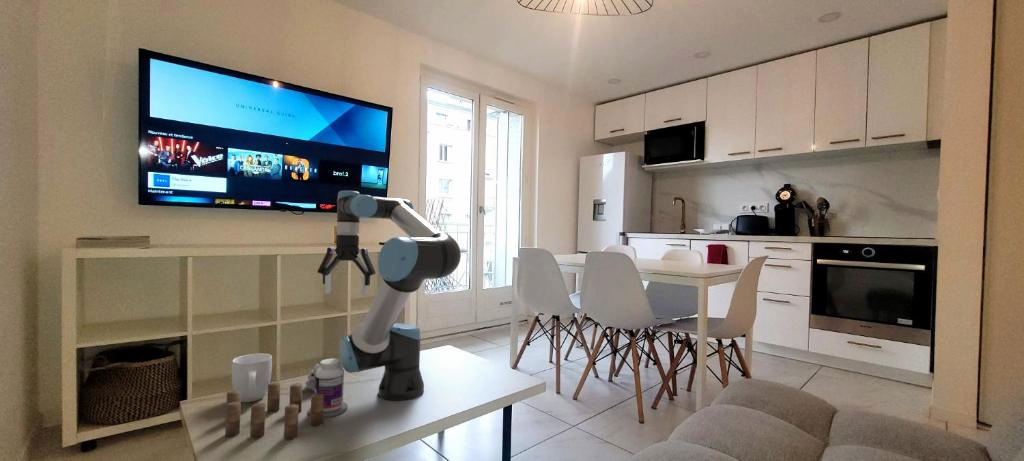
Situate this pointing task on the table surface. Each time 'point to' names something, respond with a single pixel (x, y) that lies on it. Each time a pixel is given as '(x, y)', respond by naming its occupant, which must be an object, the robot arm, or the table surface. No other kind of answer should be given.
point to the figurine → (312, 377)
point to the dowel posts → (272, 406)
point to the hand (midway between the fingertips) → (345, 294)
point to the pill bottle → (330, 384)
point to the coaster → (333, 413)
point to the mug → (251, 376)
